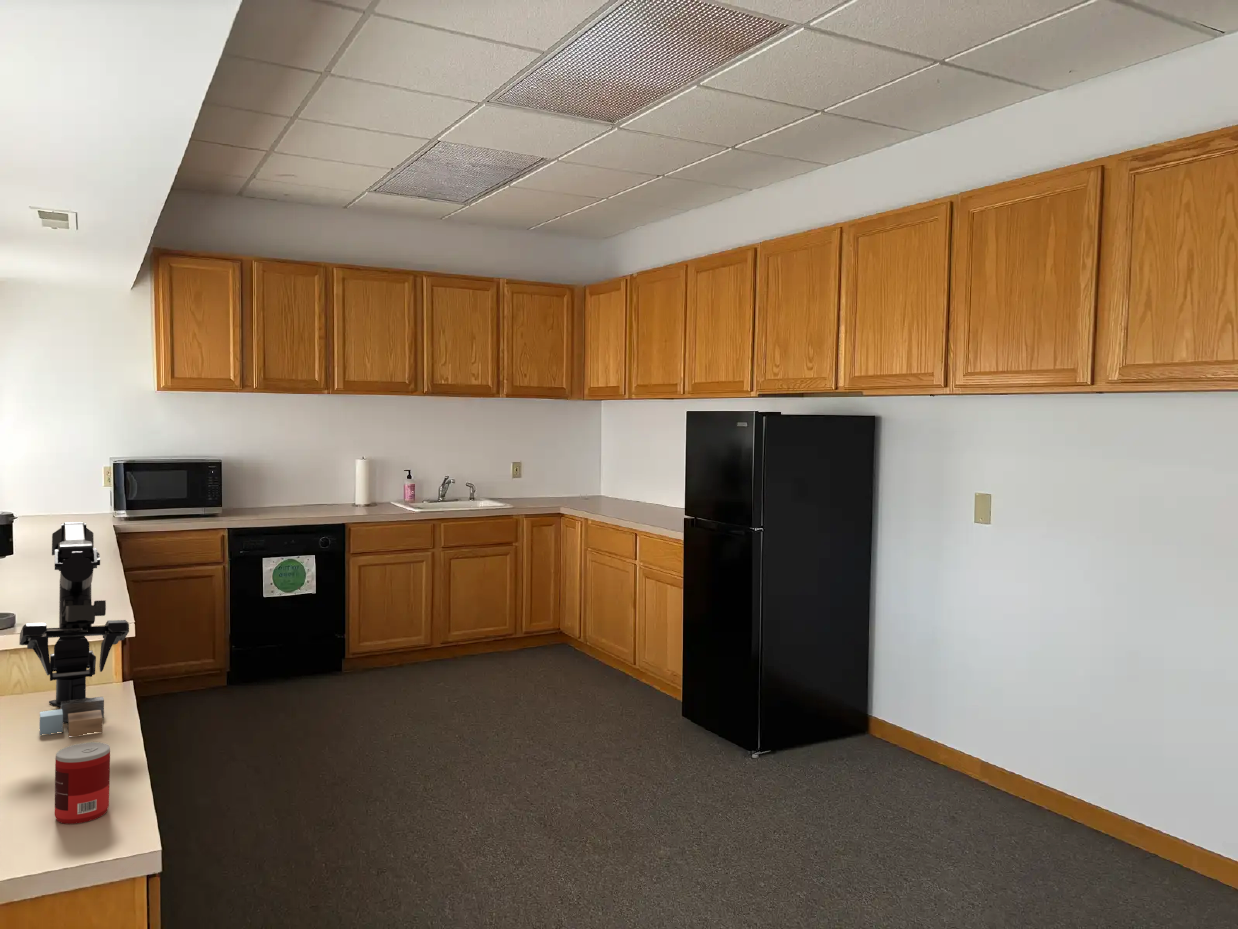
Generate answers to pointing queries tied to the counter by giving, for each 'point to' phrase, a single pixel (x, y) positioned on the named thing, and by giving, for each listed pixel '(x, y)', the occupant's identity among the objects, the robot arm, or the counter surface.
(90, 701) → the block
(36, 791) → the counter surface
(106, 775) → the canned food
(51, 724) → the block
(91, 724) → the brown square block
